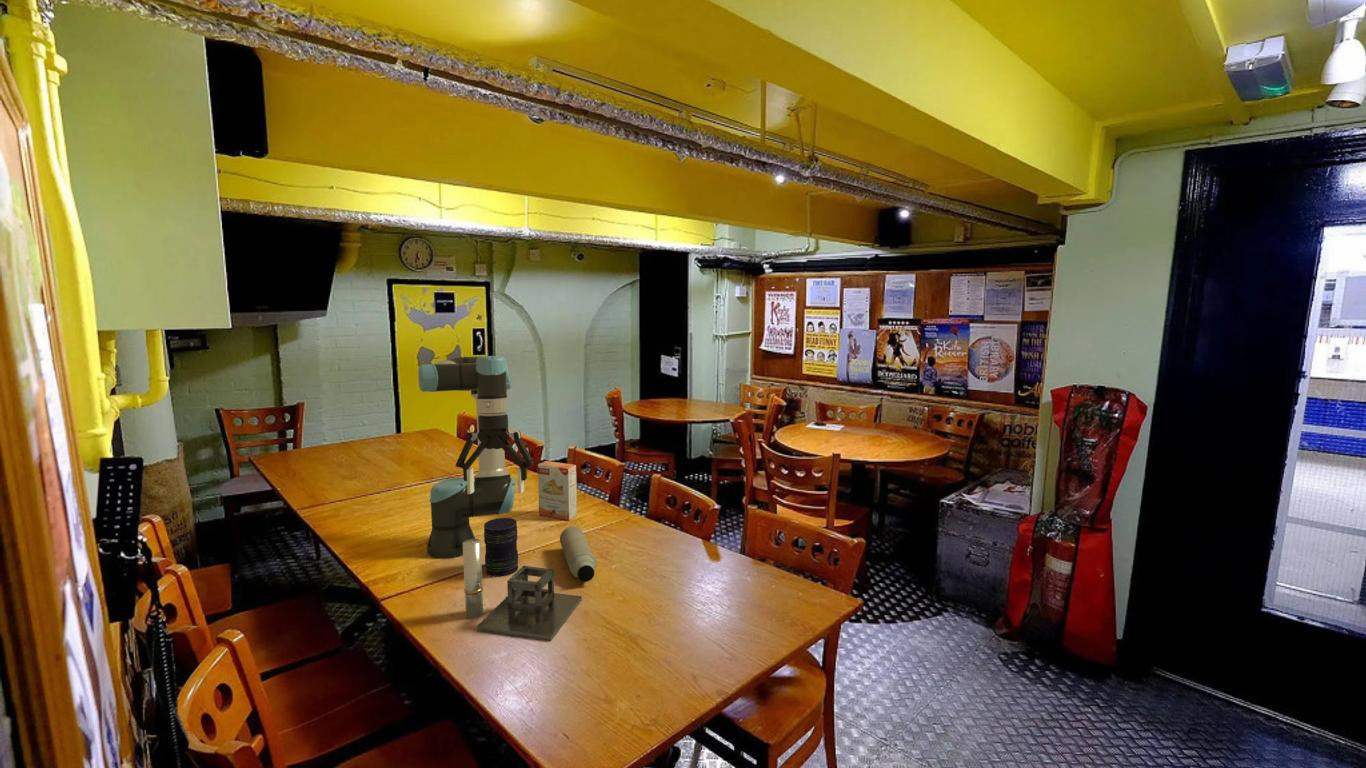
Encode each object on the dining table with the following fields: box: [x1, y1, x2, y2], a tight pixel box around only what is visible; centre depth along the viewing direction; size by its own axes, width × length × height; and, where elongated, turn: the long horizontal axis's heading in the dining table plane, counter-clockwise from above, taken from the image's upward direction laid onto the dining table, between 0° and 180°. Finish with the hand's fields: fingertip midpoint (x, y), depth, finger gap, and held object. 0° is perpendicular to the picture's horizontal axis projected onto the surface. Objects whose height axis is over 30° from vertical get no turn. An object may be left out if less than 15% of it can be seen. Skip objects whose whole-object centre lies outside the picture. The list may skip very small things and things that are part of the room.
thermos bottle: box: [559, 525, 597, 583], centre depth 180 cm, size 8×8×28 cm
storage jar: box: [483, 517, 519, 578], centre depth 177 cm, size 10×10×15 cm
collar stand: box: [476, 565, 583, 642], centre depth 151 cm, size 20×20×11 cm
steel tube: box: [462, 538, 484, 619], centre depth 151 cm, size 5×5×20 cm
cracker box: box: [537, 460, 578, 521], centre depth 221 cm, size 14×6×21 cm, turn 68°
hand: (496, 492), depth 154 cm, fingers open, 13 cm apart
